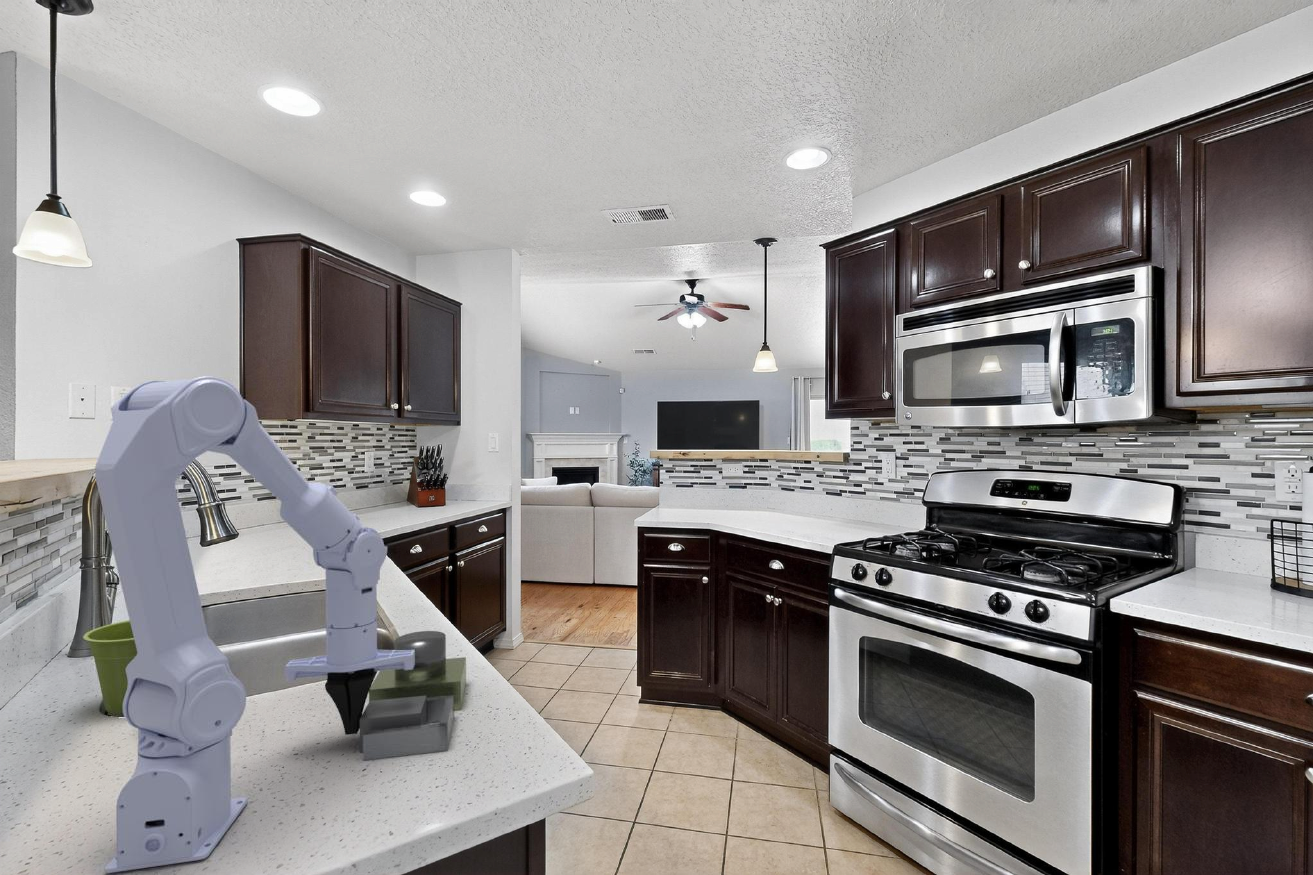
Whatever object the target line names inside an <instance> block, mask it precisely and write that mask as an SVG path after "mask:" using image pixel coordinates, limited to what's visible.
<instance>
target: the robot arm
mask: <svg viewBox="0 0 1313 875" xmlns="http://www.w3.org/2000/svg"><path fill="white" fill-rule="evenodd" d="M110 412H111V416H112V417H111V418H112V422H111V423H112V424H111V426H110V428H109V431H108V433H107V435H106V439H105V441H104V443H103V446H102V448H101V451H100V453H99V456H98V459H97V461H96V464H95V467H94V477H95V478H94V479H95V482H96V485H97V491H98V494H99V499H100V502H101V506H102V511H103V515H104V520H105V523H106V527H107V531H108V536H109V541H110V543H111V548H112V551H113V556H114V560H115V564H116V569H117V573H118V577H119V580H120V581H119V582H120V586H121V590H122V594H123V598H124V602H125V606H126V610H127V614H128V619H129V620H130V623H131V627H132V632H133V636H134V640H135V644H136V648H137V652H138V653H137V655H136V656H135V658H134V659H133V660H132V661H131V662H130V663H129V664H128V665H127V667H126V674H127V679H128V686H127V691H126V694H125V697H124V700H123V714H122V715H123V717H124V719H125V721H126V722H127V723H128V725H130V726H131V727H132V728H135V729H137V735H138V736H137V760H136V761H137V762H136V766H135V769H134V772H133V774H132V776H131V777H130V779H129V780H128V781H127V782H126V784H124V786H123V788H122V789H121V790H120V792H119V794H118V798H117V799H116V800H117V801H116V807H115V808H116V815H115V816H116V819H115V820H116V822H115V823H116V855H115V856H113V858H112V859H111V860H110V861H109V862H108V863H107V864H106V865H105V867H104V873H105V874H113V873H118V872H125V871H132V870H138V869H145V868H153V867H160V866H167V865H173V864H180V863H186V862H193V861H200V860H204V859H206V858H208V856H210V855H211V853H212V852H213V850H214V848H215V847H216V846H217V845H218V843H219V842H220V841H221V839H222V838H223V836H224V835H225V834H226V832H227V831H228V830H229V828H230V827H231V825H232V824H233V823H234V821H235V820H236V819H237V817H238V816H239V815H240V813H241V812H242V810H243V809H244V807H245V806H246V805H247V804H248V803H249V802H248V799H249V798H248V797H243V796H242V797H237V798H232V781H231V780H232V776H231V775H232V774H231V772H232V768H231V766H232V764H231V763H232V762H231V761H232V760H231V759H232V758H231V756H232V755H231V750H232V749H231V748H232V747H231V737H232V736H233V729H234V728H235V727H236V726H237V724H238V723H239V722H240V720H241V718H242V716H243V715H244V712H245V709H246V705H247V692H246V688H245V686H244V684H243V683H242V682H241V681H240V680H239V679H238V678H237V677H236V676H235V675H234V674H233V672H232V671H231V667H230V664H229V660H228V658H227V656H226V655H225V654H224V652H223V651H222V650H221V649H220V647H218V646H217V644H215V643H214V641H213V640H212V639H211V638H210V636H209V634H208V630H207V625H206V622H205V621H206V620H205V616H204V612H203V607H202V606H203V605H202V603H201V599H200V593H199V588H198V585H197V584H198V583H197V580H196V575H195V571H194V567H193V566H194V565H193V562H192V557H191V553H190V552H191V551H190V548H189V544H188V538H187V535H186V529H185V526H184V522H183V516H182V512H181V511H182V510H181V507H180V502H179V499H178V493H177V490H176V485H175V482H176V481H177V479H178V478H179V477H180V475H182V474H183V472H184V471H185V470H186V469H188V467H189V466H190V465H191V464H192V463H193V461H195V459H196V458H198V457H199V456H201V455H203V454H205V453H207V452H211V453H212V452H213V453H217V454H218V453H219V454H223V455H226V456H229V457H230V458H231V459H232V460H233V461H234V462H235V463H236V464H237V465H239V467H241V468H242V469H243V470H244V471H246V472H247V473H248V474H249V475H250V476H251V477H253V479H255V480H256V481H257V482H258V483H259V484H260V485H261V486H263V487H264V488H265V489H266V490H267V491H269V492H270V493H271V494H272V495H273V496H274V497H275V498H277V500H278V501H280V508H279V516H280V517H281V519H282V520H283V521H284V522H285V523H286V524H287V525H288V526H290V528H291V529H292V530H293V531H295V533H297V535H299V537H301V538H302V539H303V540H304V541H305V542H306V543H307V544H308V545H309V546H310V547H311V548H312V555H313V560H314V563H315V565H316V566H319V567H321V568H322V569H323V570H325V625H326V626H325V629H326V630H325V631H326V632H325V633H326V634H325V638H326V639H325V640H326V641H325V644H326V647H325V649H326V651H325V652H326V654H323V655H317V656H313V657H306V658H300V659H291V660H290V661H289V662H288V663H287V664H286V665H285V667H284V668H285V669H284V670H285V681H286V682H292V681H297V679H303V678H304V679H305V678H314V677H326V676H327V677H326V678H327V679H326V682H325V684H324V687H325V691H326V692H327V694H328V695H329V697H330V698H331V699H332V701H333V703H334V705H335V707H336V709H337V711H338V713H339V716H340V719H341V722H342V726H343V729H344V730H343V731H344V735H346V736H347V735H348V736H349V735H356V734H358V733H359V732H360V718H361V716H362V714H363V712H364V710H365V705H366V701H367V698H368V696H369V690H370V687H371V685H372V684H373V682H374V680H375V679H376V677H377V674H378V672H380V671H383V670H394V669H404V670H412V669H413V668H414V665H415V650H395V649H378V625H377V624H378V623H377V621H378V613H377V608H378V607H377V605H378V604H377V600H378V599H377V598H378V596H377V595H378V594H377V586H378V584H379V580H381V576H380V574H381V573H380V572H381V569H382V568H381V567H382V566H383V564H384V562H385V560H386V557H387V554H388V546H385V544H384V540H383V538H382V537H381V535H380V534H379V532H378V531H376V530H375V529H373V528H372V527H363V525H362V523H361V521H360V517H359V516H358V515H357V514H356V513H352V512H351V511H350V510H349V509H348V508H347V507H346V505H344V504H343V502H342V501H341V500H340V499H339V498H338V497H337V495H338V494H339V492H338V491H337V489H336V488H335V487H334V486H333V485H326V484H324V483H323V482H308V480H307V478H305V476H303V474H302V473H301V472H300V471H299V469H298V468H297V467H296V466H295V464H294V463H293V462H292V461H291V459H290V458H289V457H288V456H287V454H286V453H285V452H284V451H283V450H282V448H281V447H280V446H279V445H278V443H277V442H276V441H275V440H274V439H273V438H272V436H271V435H270V434H269V433H268V431H267V430H266V429H265V428H264V427H263V426H262V424H261V422H260V420H259V417H258V413H257V410H256V407H255V406H254V405H252V403H250V402H249V401H248V400H246V399H245V398H244V399H243V397H242V395H241V393H240V391H239V390H238V389H237V388H236V387H235V385H233V384H231V382H228V381H226V380H225V379H222V378H221V377H216V376H212V375H211V376H209V375H208V376H207V375H206V376H199V377H195V378H191V379H179V380H168V381H167V380H166V381H165V380H150V381H145V382H142V383H139V384H138V385H136V386H134V387H133V388H131V390H129V391H128V392H127V393H126V394H124V395H123V396H122V397H121V398H120V399H119V400H117V402H115V403H114V404H113V405H112V406H111V408H110Z"/></svg>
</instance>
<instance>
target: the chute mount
mask: <svg viewBox="0 0 1313 875" xmlns="http://www.w3.org/2000/svg"><path fill="white" fill-rule="evenodd" d="M446 637H447V636H446V634H445V633H444V632H442V631H439V630H438V631H437V630H424V631H422V630H421V631H414V632H410V633H405V634H403V635H401V636H398V637H396V639H395V640H394V650H415V665H414V668H413V669H412V670H404V669H394V670H383V671H378V672H377V674H376V676H375V678H374V680H373V682H372V685H371V687H370V690H369V693H368V702H369V701H376V700H386V699H396V698H406V697H416V696H426V716H427V725H419V726H409V727H400V728H391V729H382V730H373V731H365V732H364V734H363V752H362V760H363V762H364V761H370V760H378V759H380V760H381V759H388V758H395V757H403V756H411V755H421V754H422V755H423V754H428V753H437V752H446V751H448V749H449V745H450V739H451V734H452V730H453V725H454V720H455V711H460V710H462V707H463V702H464V696H465V691H466V687H467V686H466V685H467V657H463V656H462V657H454V658H447V649H446V648H447V642H446V639H447V638H446ZM465 686H466V687H465Z"/></svg>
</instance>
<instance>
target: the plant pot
mask: <svg viewBox="0 0 1313 875" xmlns="http://www.w3.org/2000/svg"><path fill="white" fill-rule="evenodd" d="M82 638H83V640H84V641H85V642H87V643H88V645H89V650H90V654H91V656H92V657H93V659H94V663H95V669H96V673H97V677H98V681H99V686H100V691H101V696H102V701H103V706H104V708H105V711H106V712H107V713H109V714H116V715H117V714H120V715H124V714H123V700H124V697H125V694H126V691H127V686H128V679H127V674H126V667H127V665H128V664H129V663H130V662H131V661H132V660H133V659H134V658H135V656H136V655H137V653H138V652H137V648H136V644H135V640H134V636H133V632H132V627H131V623H130V619H129V620H124V621H118V622H113V623H110V624H107V625H103V626H100V627H95V628H94V629H91V630H89V631H88V632H86V633H85V634H84V635H83V636H82Z"/></svg>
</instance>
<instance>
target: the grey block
mask: <svg viewBox="0 0 1313 875" xmlns="http://www.w3.org/2000/svg"><path fill="white" fill-rule="evenodd" d="M419 725H428V723H427V716H426V696H416V697H406V698H396V699H386V700H376V701H369V700H368V703H367V705H366V707H365V708H364V710H363V713H362V716H361V718H360V729H359V753H363V734H364V732H365V731H373V730H382V729H391V728H400V727H409V726H419Z"/></svg>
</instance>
